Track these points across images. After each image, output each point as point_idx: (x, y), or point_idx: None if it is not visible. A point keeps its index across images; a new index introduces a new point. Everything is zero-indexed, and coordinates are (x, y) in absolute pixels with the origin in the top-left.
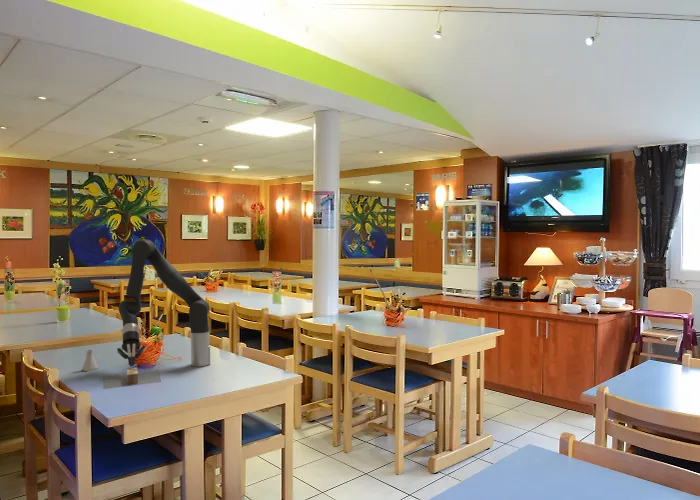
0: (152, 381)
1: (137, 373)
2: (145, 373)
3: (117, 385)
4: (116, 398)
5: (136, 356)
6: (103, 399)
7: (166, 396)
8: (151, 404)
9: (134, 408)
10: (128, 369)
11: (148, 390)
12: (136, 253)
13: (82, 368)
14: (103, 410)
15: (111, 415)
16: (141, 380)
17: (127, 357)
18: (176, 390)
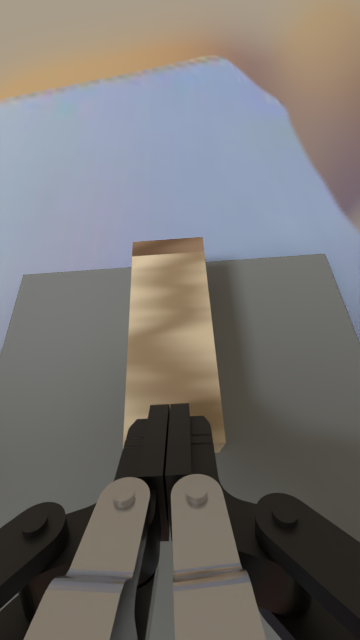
0: (63, 294)
1: (134, 251)
2: None
3: (257, 284)
4: (230, 151)
5: (75, 525)
6: (278, 152)
7: (61, 133)
8: (118, 96)
9: (166, 85)
10: (205, 395)
11: (107, 195)
12: None
13: None
14: (251, 88)
15: (222, 65)
16: (119, 336)
17: (236, 502)
18: (9, 171)
